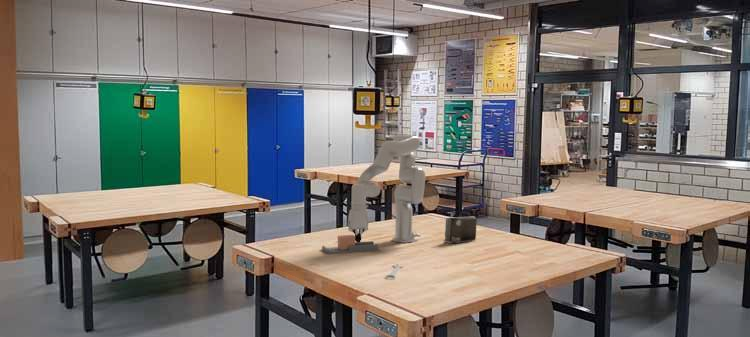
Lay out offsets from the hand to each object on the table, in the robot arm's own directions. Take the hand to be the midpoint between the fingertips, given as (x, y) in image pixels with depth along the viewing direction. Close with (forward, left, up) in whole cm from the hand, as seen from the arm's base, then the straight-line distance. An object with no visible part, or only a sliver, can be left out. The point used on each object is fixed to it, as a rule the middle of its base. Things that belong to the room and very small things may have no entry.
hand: (358, 241), depth 308 cm
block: (+6, 0, -3) cm, 7 cm away
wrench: (-2, +46, -5) cm, 47 cm away
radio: (-63, -5, -5) cm, 63 cm away
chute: (+4, 0, -4) cm, 6 cm away
